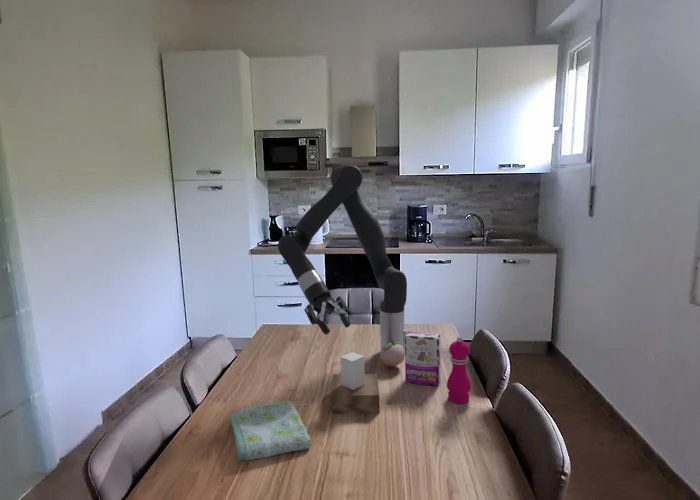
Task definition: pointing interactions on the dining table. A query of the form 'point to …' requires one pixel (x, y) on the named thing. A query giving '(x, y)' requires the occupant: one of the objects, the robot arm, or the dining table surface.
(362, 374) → the pale grey block
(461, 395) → the pepper mill
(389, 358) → the decorative fruit
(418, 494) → the dining table surface
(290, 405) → the towel
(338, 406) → the walnut block
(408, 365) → the candy bar box
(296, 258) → the robot arm
